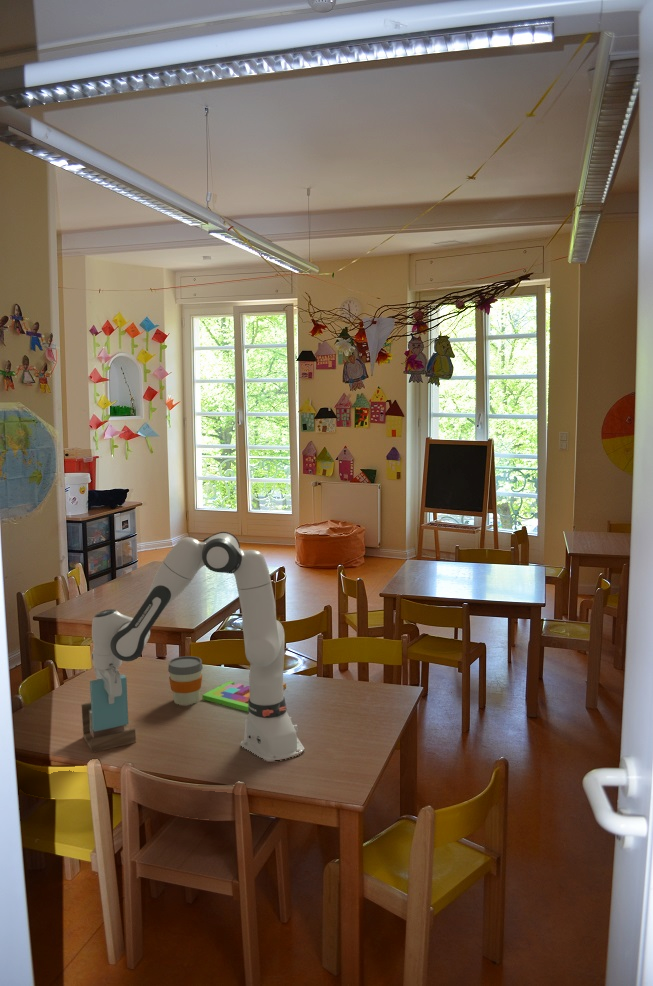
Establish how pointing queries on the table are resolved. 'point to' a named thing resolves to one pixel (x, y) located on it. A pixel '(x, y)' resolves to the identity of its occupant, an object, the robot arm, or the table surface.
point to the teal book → (108, 706)
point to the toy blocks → (231, 695)
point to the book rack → (104, 733)
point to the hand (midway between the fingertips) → (109, 700)
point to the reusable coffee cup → (185, 679)
